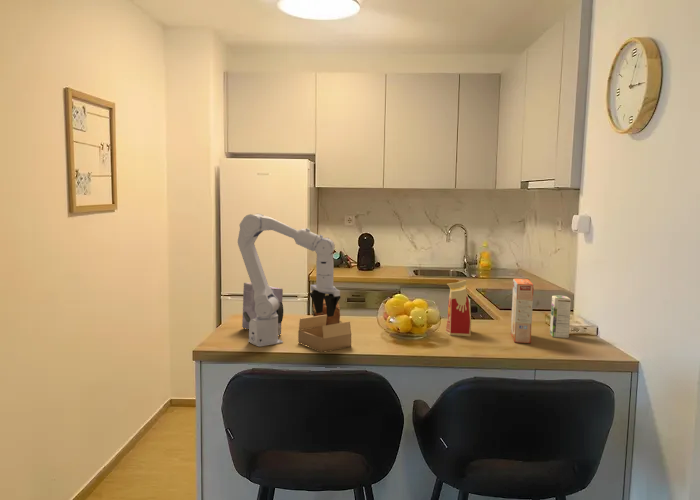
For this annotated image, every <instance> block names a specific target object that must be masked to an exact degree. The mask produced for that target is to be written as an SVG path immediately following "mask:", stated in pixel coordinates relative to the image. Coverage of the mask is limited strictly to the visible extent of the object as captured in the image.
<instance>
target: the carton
mask: <svg viewBox="0 0 700 500" xmlns="http://www.w3.org/2000/svg"><path fill="white" fill-rule="evenodd" d="M297 334H298V336H297V337H298V338H297V339H298V340H297V341H298V342H299V343H302V344H304V345H307V346H309V347H311V348H310V349H312V348H313V350H314V349H316V350H315V351H317V350H318V351H317V352H319V351H320V353H326V352H325V351H327V352H331V351H330V350H332V351H336V350H335V349H337V350H341V349H340V348H342V349H346V347H347V348H351V347H352V333H351V334H347V335H341V336H336V337H330V338H324V339H323V329H322V326H321V327H315V328H309V329H302V330H299V329H298V331H297ZM299 343H298V344H299ZM302 344H301V345H302ZM304 345H303V346H304ZM307 346H306V347H307ZM309 347H308V348H309Z"/></svg>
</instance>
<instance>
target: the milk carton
mask: <svg viewBox="0 0 700 500" xmlns="http://www.w3.org/2000/svg"><path fill="white" fill-rule="evenodd" d="M446 285H447V286H448V288H449V296H448V303H447V316H446V317H447V318H446V319H447V320H446V326H445V333H446V334H447V335H449V336H459V337H461V336H463V337H471V332H472V331H471V329H472V315H471V303H470V299H469V296H468V291H467V279H464V280H461V281H457V282H451V283H450V282H449V283H446Z"/></svg>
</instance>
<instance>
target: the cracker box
mask: <svg viewBox="0 0 700 500" xmlns="http://www.w3.org/2000/svg"><path fill="white" fill-rule="evenodd" d="M534 285H535V284H533V282H532V281H531V280H530V279H527V278H513V281H512V296H511V297H512V300H511V301H512V302H511V321H510V322H511V323H510V335H511V338H512V340H513V342H514V343H517V344H518V343H519V344H531V342H532V341H531V340H532V321H533V304H534V303H533V301H534Z"/></svg>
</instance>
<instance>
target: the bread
mask: <svg viewBox="0 0 700 500" xmlns="http://www.w3.org/2000/svg"><path fill="white" fill-rule="evenodd" d="M340 306H341V305H340V302H339V301H338V303H337V305H336V308H335V312H334V316H331V317H328V316H327V319H326V325H332V324H338V323H341V319H340V318H341V307H340ZM321 315H327V309H326V302H325V299H324V301H323V311H322V313H316V310H315V306H314V303H313V302H312V317H314V316H321Z"/></svg>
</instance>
